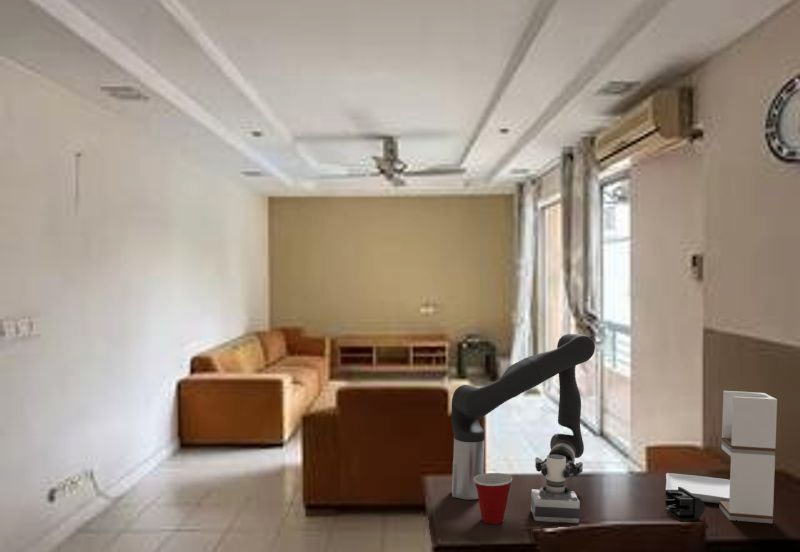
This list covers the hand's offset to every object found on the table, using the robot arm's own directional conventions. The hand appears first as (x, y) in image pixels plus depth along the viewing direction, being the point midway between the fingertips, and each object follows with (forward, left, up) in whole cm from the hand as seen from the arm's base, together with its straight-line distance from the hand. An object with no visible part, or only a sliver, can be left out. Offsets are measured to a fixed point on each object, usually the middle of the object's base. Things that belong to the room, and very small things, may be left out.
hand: (554, 473), depth 200 cm
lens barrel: (+1, +3, -6) cm, 7 cm away
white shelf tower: (+57, +12, -13) cm, 59 cm away
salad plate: (+51, +31, -13) cm, 61 cm away
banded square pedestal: (+1, +3, -13) cm, 13 cm away
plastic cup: (-17, -3, -13) cm, 22 cm away
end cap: (+39, +10, -13) cm, 42 cm away
